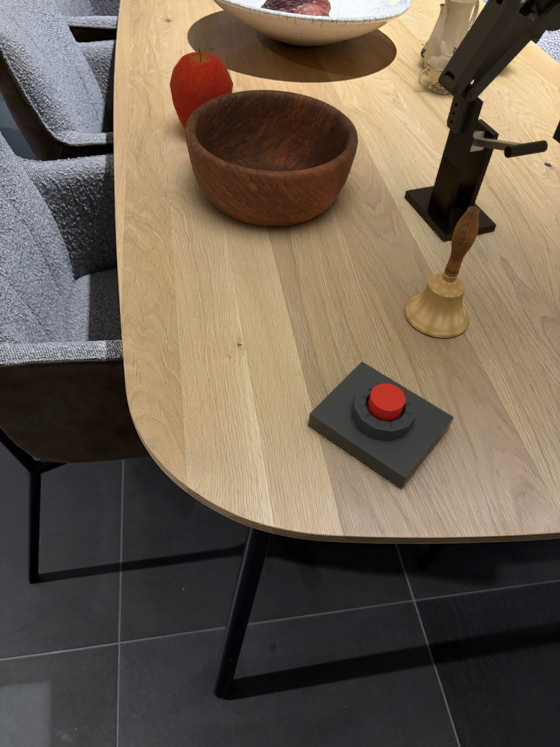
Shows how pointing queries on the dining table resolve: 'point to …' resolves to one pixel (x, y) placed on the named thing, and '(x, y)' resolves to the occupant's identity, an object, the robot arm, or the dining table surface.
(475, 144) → the lever
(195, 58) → the apple
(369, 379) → the push button switch
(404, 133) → the dining table surface
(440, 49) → the chinaware
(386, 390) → the button
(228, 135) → the wooden bowl
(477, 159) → the bracket
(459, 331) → the hand bell
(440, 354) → the dining table surface
